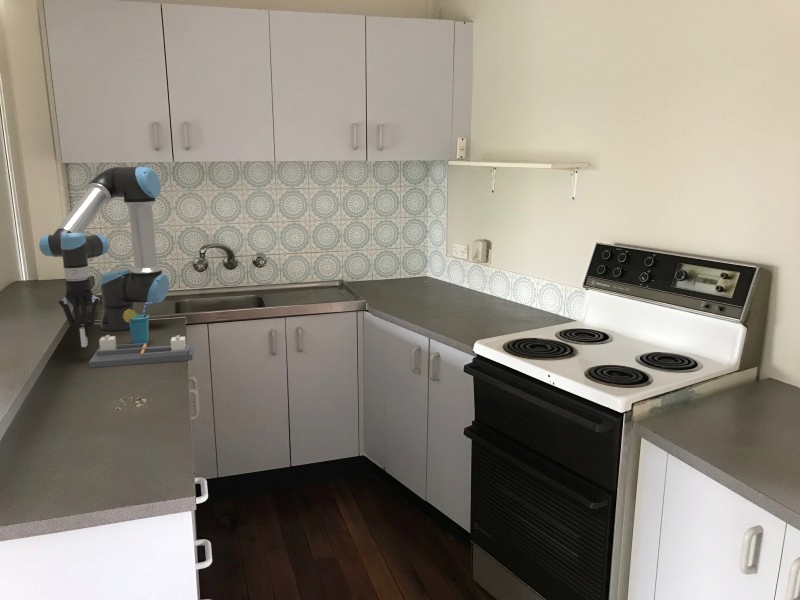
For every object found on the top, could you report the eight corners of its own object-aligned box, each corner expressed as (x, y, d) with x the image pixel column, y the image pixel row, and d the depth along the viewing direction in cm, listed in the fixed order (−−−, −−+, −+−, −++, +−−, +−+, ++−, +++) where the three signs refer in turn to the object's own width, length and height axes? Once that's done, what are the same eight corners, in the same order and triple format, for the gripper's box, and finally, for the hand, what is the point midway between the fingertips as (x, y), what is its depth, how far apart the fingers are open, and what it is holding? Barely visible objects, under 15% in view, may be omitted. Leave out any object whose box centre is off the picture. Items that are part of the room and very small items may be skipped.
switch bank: (97, 355, 238) (96, 346, 237) (194, 348, 245) (193, 339, 244) (89, 367, 224) (88, 357, 224) (192, 360, 232) (191, 350, 231)
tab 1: (103, 350, 236) (101, 335, 235) (116, 349, 237) (115, 334, 236) (100, 354, 232) (99, 338, 231) (114, 353, 233) (113, 337, 232)
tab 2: (172, 351, 235) (171, 335, 234) (186, 350, 236) (185, 334, 235) (171, 354, 231) (170, 338, 230) (185, 353, 232) (184, 337, 231)
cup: (147, 337, 261) (144, 299, 258) (163, 339, 258) (160, 301, 255) (120, 347, 248) (116, 307, 245) (136, 349, 245) (133, 309, 242)
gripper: (53, 281, 222) (61, 350, 227) (95, 280, 225) (102, 347, 230) (59, 277, 230) (67, 344, 235) (100, 276, 232) (106, 341, 238)
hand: (84, 345), depth 233 cm, fingers closed
